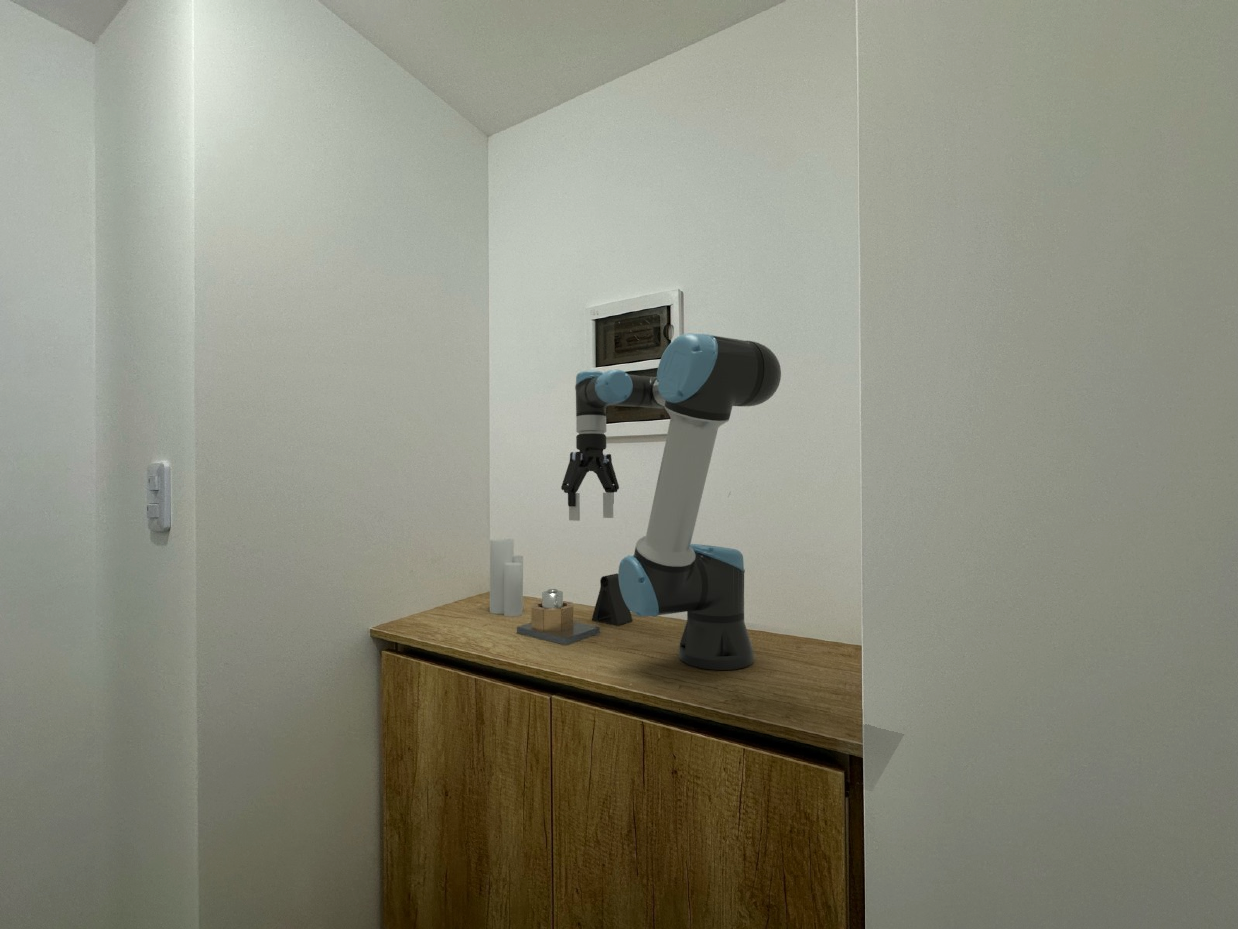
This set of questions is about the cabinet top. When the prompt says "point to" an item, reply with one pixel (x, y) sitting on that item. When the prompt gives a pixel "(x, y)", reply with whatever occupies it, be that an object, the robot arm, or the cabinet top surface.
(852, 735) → the cabinet top surface
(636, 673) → the cabinet top surface
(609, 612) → the black triangular stand
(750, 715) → the cabinet top surface
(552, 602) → the peg on base plate
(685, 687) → the cabinet top surface
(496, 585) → the candle
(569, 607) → the ring
